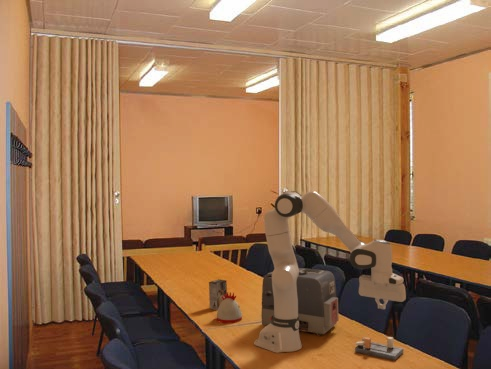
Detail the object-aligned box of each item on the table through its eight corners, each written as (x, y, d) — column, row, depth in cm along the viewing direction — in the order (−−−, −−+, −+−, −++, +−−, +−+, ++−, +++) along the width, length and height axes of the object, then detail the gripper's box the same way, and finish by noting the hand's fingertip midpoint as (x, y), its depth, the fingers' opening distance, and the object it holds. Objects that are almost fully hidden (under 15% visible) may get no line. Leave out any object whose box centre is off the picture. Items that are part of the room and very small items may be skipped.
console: (354, 351, 223) (354, 346, 223) (363, 344, 232) (363, 339, 232) (394, 360, 212) (394, 354, 212) (403, 352, 221) (403, 346, 221)
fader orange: (364, 347, 222) (364, 338, 222) (366, 346, 224) (366, 337, 223) (368, 348, 220) (368, 339, 220) (371, 346, 222) (370, 338, 222)
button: (361, 342, 229) (361, 338, 229) (364, 340, 231) (363, 337, 231) (367, 343, 227) (367, 339, 227) (369, 342, 229) (369, 338, 229)
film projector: (348, 326, 259) (347, 268, 258) (323, 343, 235) (323, 279, 234) (282, 314, 282) (281, 261, 281) (253, 328, 257) (253, 270, 256)
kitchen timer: (238, 323, 266) (238, 295, 266) (213, 322, 269) (213, 294, 269) (244, 316, 280) (243, 289, 279) (220, 315, 283) (219, 288, 282)
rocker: (355, 345, 224) (355, 343, 224) (357, 343, 226) (357, 341, 226) (363, 345, 222) (362, 342, 222) (365, 343, 224) (364, 341, 224)
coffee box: (219, 305, 303) (218, 278, 302) (227, 306, 299) (227, 280, 298) (209, 308, 295) (208, 281, 295) (217, 310, 291) (217, 283, 291)
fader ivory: (387, 347, 222) (387, 338, 222) (389, 345, 224) (389, 336, 224) (391, 348, 221) (391, 339, 221) (393, 346, 223) (393, 337, 222)
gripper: (356, 275, 221) (356, 306, 221) (402, 281, 209) (402, 314, 209) (362, 272, 226) (361, 303, 226) (407, 278, 214) (407, 310, 214)
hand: (381, 308), depth 218 cm, fingers closed
